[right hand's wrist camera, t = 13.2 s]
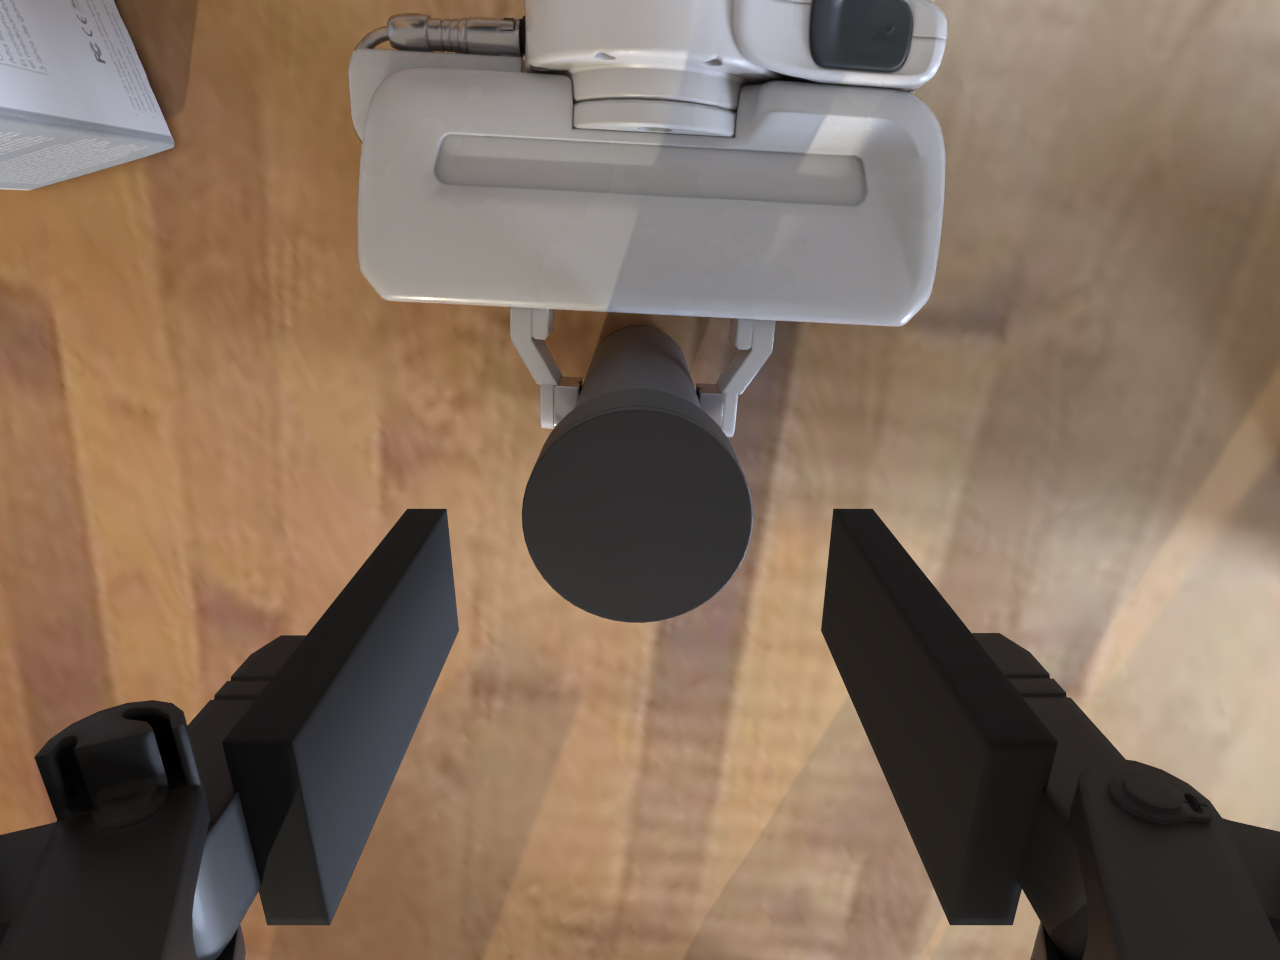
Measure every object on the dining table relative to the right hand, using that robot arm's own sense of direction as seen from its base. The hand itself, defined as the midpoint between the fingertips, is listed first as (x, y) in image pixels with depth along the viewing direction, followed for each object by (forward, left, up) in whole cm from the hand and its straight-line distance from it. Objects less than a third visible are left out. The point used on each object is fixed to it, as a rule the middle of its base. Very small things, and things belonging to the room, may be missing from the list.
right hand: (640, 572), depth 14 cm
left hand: (0, +1, -15) cm, 15 cm away
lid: (0, 0, -4) cm, 4 cm away
